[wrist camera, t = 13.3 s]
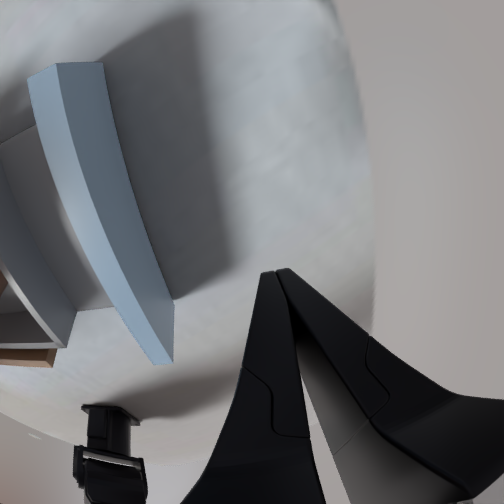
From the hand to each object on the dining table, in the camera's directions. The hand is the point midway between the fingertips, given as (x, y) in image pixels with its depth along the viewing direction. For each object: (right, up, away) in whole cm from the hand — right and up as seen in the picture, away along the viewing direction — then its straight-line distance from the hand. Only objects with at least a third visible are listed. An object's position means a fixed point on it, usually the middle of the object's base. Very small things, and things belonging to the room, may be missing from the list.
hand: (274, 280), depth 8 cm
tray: (-15, +2, +4) cm, 16 cm away
